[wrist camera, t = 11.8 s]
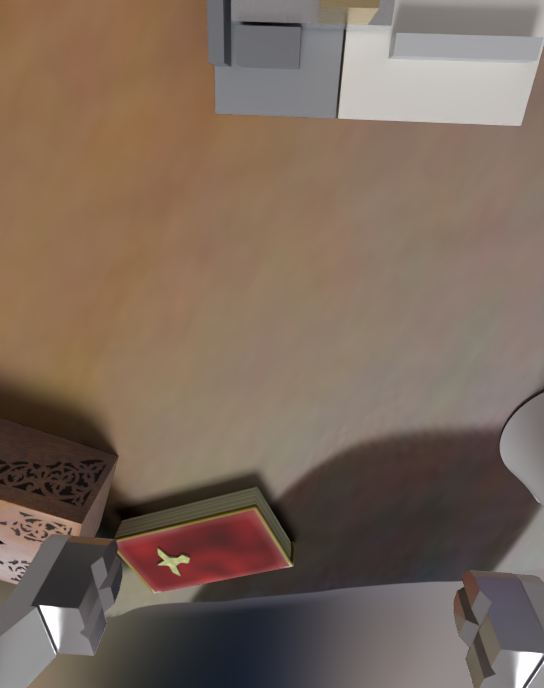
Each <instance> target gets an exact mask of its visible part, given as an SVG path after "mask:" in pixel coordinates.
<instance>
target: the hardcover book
mask: <svg viewBox="0 0 544 688" xmlns="http://www.w3.org/2000/svg"><path fill="white" fill-rule="evenodd" d="M112 540H116V541H117V545H118V548H119V549H118V551H117V553H118V554H119V555H120V556H121V558H122V559H123V560H124V561H125V562H126V563H127V564H128V565H129V567H130V568H131V569H132V570H133V571H134V572H135V573H136V574H137V575H138V577H139V578H140V579H141V580H142V581H143V582H144V583H145V584H146V586H147V587H148V588H149V589H150V590H151V591H152V592H153V593H158V592H164V591H169V590H174V589H179V588H184V587H189V586H194V585H200V584H205V583H210V582H215V581H220V580H225V579H230V578H235V577H241V576H246V575H251V574H256V573H261V572H266V571H271V570H276V569H282V568H287V567H292V566H293V565H294V556H295V546H294V542H293V541H292V542H290V540H289V538H288V537H287V535H286V533H285V532H284V530H283V528H282V527H281V525H280V523H279V522H278V520H277V518H276V517H275V515H274V513H273V512H272V510H271V508H270V507H269V505H268V503H267V502H266V500H265V498H264V497H263V495H262V493H261V492H260V490H259V488H258V487H253V488H249V489H245V490H241V491H237V492H233V493H229V494H225V495H221V496H217V497H213V498H209V499H205V500H201V501H197V502H193V503H189V504H185V505H181V506H177V507H173V508H169V509H165V510H161V511H158V512H154V513H150V514H146V515H142V516H138V517H134V518H130V519H126V520H122V522H121V524H120V526H119V528H118V531H117V533H116V535H115V537H114V538H112Z"/></svg>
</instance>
